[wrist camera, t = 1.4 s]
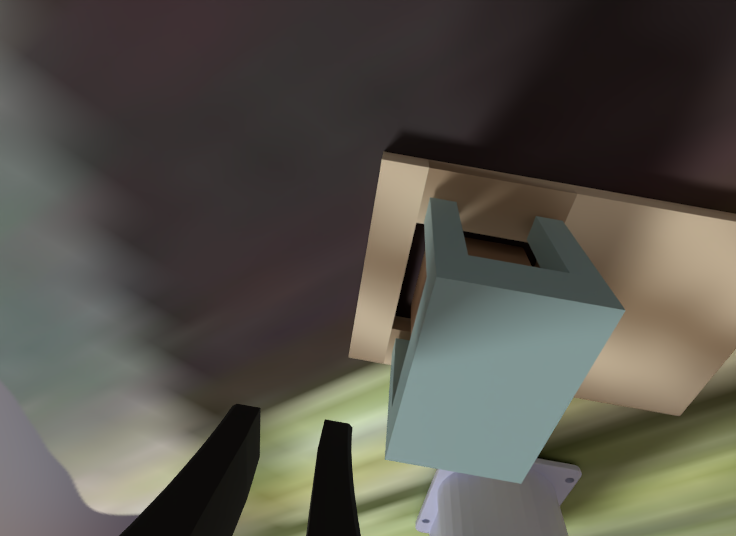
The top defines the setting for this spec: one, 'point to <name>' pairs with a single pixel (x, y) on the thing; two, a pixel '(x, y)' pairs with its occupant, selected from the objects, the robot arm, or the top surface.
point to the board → (605, 250)
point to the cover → (494, 350)
